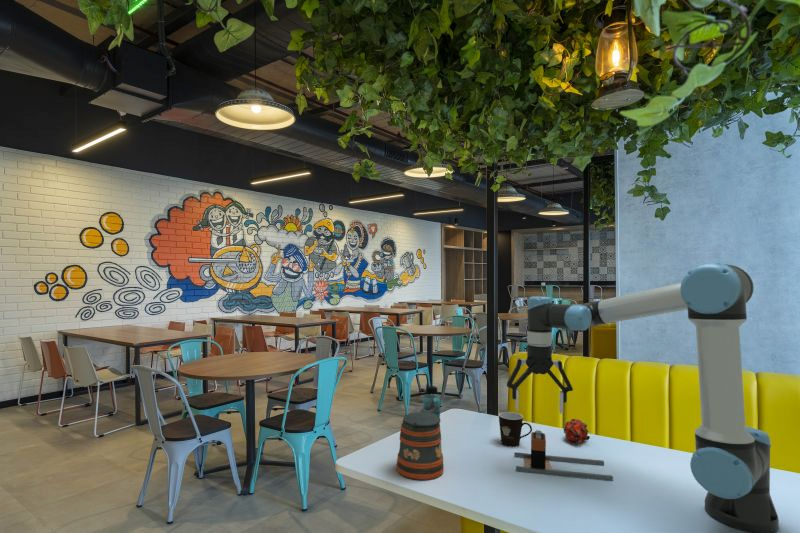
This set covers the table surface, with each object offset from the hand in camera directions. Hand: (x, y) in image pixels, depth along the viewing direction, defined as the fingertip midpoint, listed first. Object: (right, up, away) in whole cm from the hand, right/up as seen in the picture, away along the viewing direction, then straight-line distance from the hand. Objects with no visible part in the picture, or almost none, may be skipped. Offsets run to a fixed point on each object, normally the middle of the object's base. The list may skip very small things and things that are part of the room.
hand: (538, 411), depth 145 cm
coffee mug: (-4, -18, +17) cm, 25 cm away
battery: (0, -17, 0) cm, 17 cm away
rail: (+6, -18, -1) cm, 19 cm away
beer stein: (-38, -17, -3) cm, 41 cm away
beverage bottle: (-33, -17, +18) cm, 42 cm away
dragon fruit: (+20, -18, +21) cm, 35 cm away
